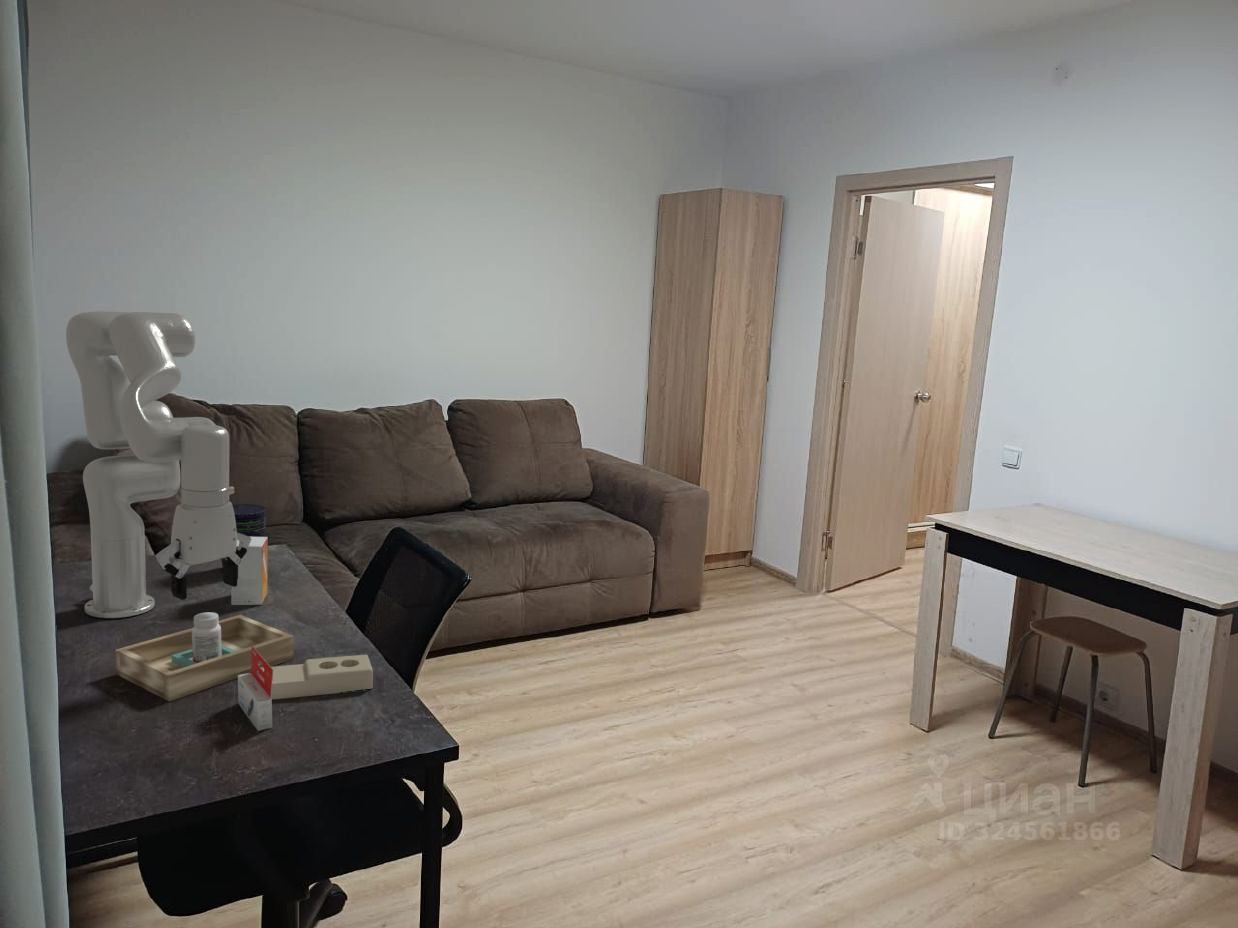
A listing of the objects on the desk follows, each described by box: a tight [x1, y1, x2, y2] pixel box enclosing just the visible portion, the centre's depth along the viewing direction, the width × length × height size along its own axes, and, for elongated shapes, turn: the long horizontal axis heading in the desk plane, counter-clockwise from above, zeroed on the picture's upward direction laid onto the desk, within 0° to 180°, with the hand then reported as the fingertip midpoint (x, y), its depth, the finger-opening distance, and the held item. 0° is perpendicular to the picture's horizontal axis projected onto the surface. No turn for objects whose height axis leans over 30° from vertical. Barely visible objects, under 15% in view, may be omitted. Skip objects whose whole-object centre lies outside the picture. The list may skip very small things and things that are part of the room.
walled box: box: [115, 614, 295, 702], centre depth 163 cm, size 16×24×4 cm, turn 147°
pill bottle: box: [191, 611, 222, 663], centre depth 163 cm, size 5×5×8 cm
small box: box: [230, 536, 269, 606], centre depth 197 cm, size 8×6×13 cm
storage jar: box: [220, 503, 267, 574], centre depth 216 cm, size 10×10×15 cm
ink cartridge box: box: [237, 646, 273, 732], centre depth 146 cm, size 2×11×10 cm, turn 37°
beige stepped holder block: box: [261, 654, 374, 700], centre depth 159 cm, size 7×4×18 cm
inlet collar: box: [171, 645, 235, 667], centre depth 163 cm, size 8×8×1 cm
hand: (205, 591), depth 162 cm, fingers open, 9 cm apart
